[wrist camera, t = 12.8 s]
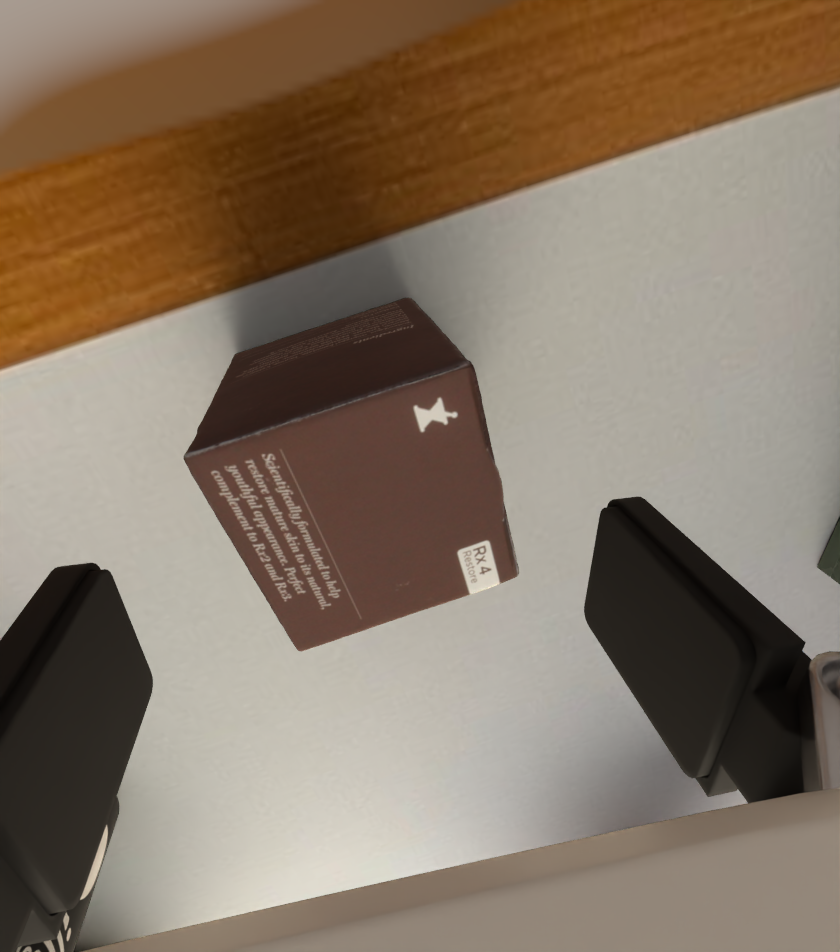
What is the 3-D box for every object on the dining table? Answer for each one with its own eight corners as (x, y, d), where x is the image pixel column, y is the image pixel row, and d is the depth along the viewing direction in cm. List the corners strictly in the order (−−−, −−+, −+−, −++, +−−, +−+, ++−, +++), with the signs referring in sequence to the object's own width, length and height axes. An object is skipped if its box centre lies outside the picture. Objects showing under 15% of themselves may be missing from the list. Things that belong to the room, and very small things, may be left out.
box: (230, 349, 16) (170, 450, 9) (413, 291, 16) (477, 353, 10) (302, 504, 19) (294, 659, 12) (455, 455, 19) (524, 584, 13)
